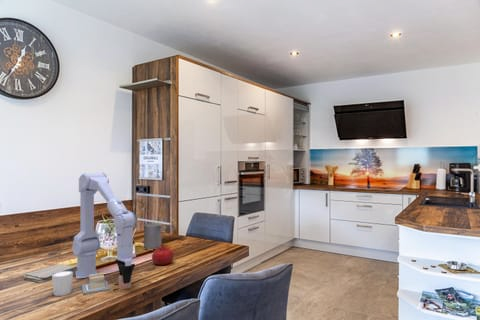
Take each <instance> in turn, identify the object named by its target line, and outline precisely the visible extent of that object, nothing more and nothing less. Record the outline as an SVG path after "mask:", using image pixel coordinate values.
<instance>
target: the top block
mask: <svg viewBox="0 0 480 320" xmlns="http://www.w3.org/2000/svg"><path fill="white" fill-rule="evenodd" d="M118 287H119V290H124V289H131V288H132V279H131V280H130V283H126V284H124V282H123V277H122V275H120V274H119V275H118Z"/></svg>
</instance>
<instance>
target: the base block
mask: <svg viewBox="0 0 480 320" xmlns="http://www.w3.org/2000/svg"><path fill="white" fill-rule="evenodd" d="M104 281H105V275H104V272H99V273H98V272H97V274H92V275H89V277H88V283H89V288H90V290H91V289H97V288H102V287H104Z"/></svg>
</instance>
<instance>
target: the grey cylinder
mask: <svg viewBox="0 0 480 320" xmlns="http://www.w3.org/2000/svg"><path fill="white" fill-rule="evenodd" d="M73 275H74V273H73V272H72V271H62V272H58V273H55V274H53V275H52V280H51V282H52V290H53V296H56V297H61V296H66V295H69V294H71V293H72V288H73V287H72V286H73V277H74V276H73Z"/></svg>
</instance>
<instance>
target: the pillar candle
mask: <svg viewBox="0 0 480 320" xmlns="http://www.w3.org/2000/svg"><path fill="white" fill-rule="evenodd" d="M143 228H144V230H143V249H144V248H145V249H156V250H157V249H159V248H156V247H160V248H161V244H163V243H162V239H163V237H162V236H163V235H162V231H163V230H162V223H160V222H147V223H144V224H143ZM145 249H144V250H145Z"/></svg>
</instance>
